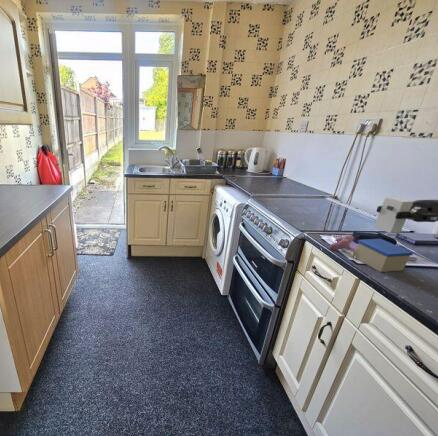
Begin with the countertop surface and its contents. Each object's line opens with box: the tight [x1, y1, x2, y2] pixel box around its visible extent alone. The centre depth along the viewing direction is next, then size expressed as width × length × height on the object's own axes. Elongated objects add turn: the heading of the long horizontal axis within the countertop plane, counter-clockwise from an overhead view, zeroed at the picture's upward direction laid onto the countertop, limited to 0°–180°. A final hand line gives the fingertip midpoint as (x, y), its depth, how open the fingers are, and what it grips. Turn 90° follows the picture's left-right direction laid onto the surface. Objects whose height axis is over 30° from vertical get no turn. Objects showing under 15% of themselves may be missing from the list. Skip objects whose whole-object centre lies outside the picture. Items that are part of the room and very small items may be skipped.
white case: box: [373, 196, 414, 234], centre depth 82 cm, size 6×4×11 cm
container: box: [353, 238, 414, 273], centre depth 86 cm, size 11×10×7 cm
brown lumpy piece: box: [329, 233, 356, 251], centre depth 97 cm, size 10×5×7 cm, turn 131°
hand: (387, 212), depth 82 cm, fingers closed on white case, 5 cm apart
